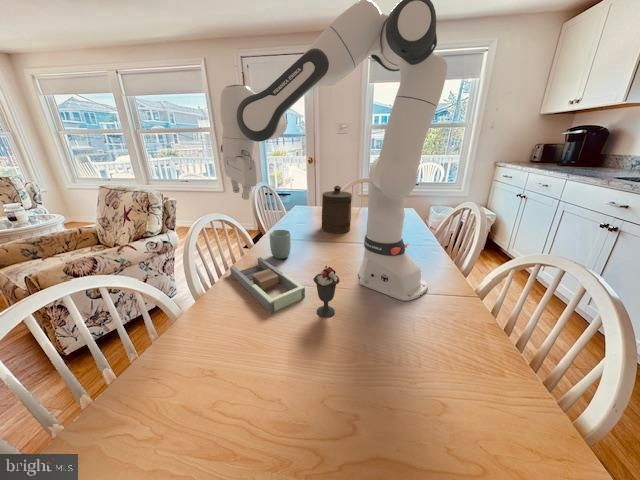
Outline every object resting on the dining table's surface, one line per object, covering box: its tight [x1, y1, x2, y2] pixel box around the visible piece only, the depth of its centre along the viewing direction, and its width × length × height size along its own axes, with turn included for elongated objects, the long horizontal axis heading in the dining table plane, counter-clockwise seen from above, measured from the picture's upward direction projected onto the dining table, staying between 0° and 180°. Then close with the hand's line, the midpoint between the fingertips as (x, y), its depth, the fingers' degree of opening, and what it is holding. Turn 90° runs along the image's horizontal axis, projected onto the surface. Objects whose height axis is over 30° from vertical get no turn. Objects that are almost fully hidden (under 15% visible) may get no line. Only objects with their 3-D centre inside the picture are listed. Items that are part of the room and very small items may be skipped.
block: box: [251, 269, 280, 293], centre depth 80 cm, size 6×6×4 cm
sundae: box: [312, 265, 340, 319], centre depth 66 cm, size 7×7×15 cm
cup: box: [269, 229, 292, 260], centre depth 99 cm, size 8×8×10 cm
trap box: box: [229, 257, 306, 314], centre depth 80 cm, size 27×11×4 cm, turn 40°
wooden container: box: [321, 185, 353, 234], centre depth 128 cm, size 15×15×22 cm
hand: (240, 195), depth 80 cm, fingers open, 8 cm apart
